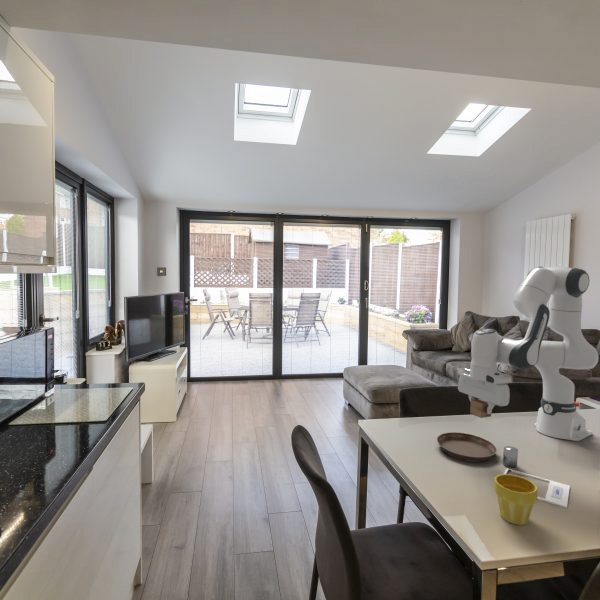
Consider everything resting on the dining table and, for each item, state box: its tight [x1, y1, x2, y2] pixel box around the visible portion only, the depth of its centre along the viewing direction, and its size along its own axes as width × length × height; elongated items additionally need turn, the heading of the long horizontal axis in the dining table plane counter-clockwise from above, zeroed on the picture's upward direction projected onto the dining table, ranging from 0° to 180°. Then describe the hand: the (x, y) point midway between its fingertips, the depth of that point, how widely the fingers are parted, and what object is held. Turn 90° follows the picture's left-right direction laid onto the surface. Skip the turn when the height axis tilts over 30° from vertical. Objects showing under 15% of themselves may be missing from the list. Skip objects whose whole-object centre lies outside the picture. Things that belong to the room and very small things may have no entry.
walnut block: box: [469, 398, 492, 419], centre depth 147 cm, size 5×5×5 cm
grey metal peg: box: [502, 445, 519, 469], centre depth 140 cm, size 4×4×6 cm
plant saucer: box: [436, 431, 498, 463], centre depth 150 cm, size 21×21×3 cm
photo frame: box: [503, 467, 571, 509], centre depth 126 cm, size 15×1×18 cm
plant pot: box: [493, 473, 539, 526], centre depth 109 cm, size 10×10×10 cm
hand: (480, 410), depth 147 cm, fingers closed on walnut block, 5 cm apart
